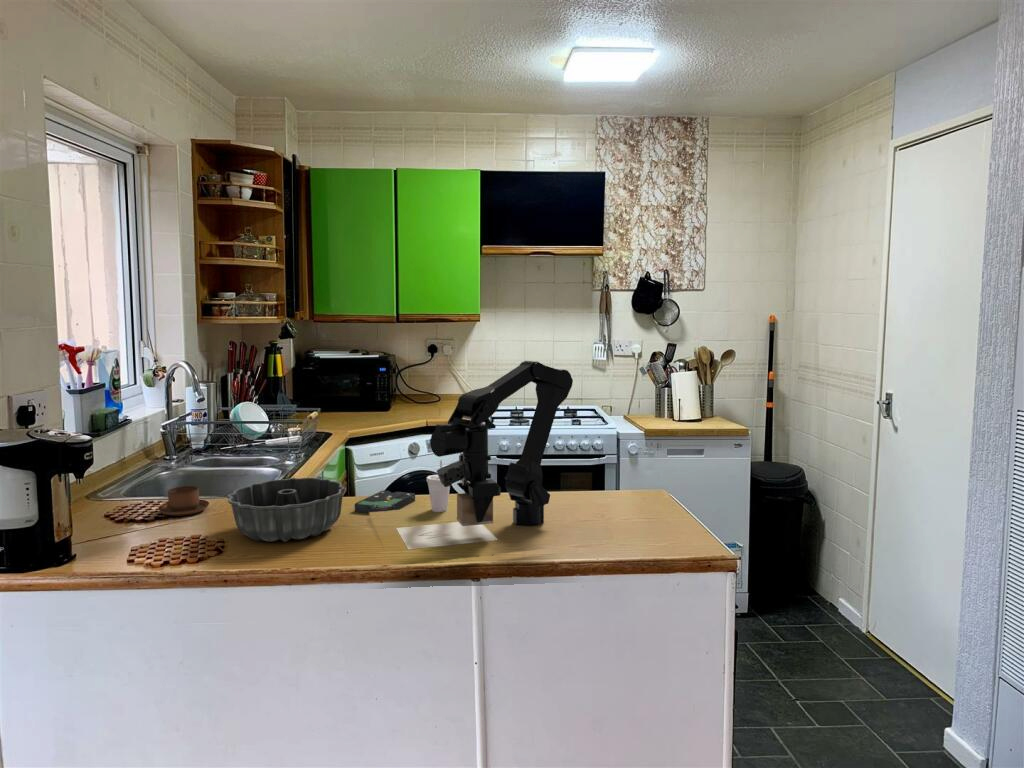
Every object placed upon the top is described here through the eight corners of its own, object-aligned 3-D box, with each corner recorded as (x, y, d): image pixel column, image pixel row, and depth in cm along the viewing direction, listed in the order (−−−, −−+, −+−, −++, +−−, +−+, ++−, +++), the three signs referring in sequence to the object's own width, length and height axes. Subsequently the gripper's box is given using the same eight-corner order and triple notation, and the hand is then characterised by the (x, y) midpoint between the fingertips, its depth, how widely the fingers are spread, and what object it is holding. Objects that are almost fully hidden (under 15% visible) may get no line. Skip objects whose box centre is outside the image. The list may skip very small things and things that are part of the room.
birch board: (478, 524, 180) (478, 519, 179) (497, 544, 164) (497, 539, 164) (396, 533, 173) (396, 528, 173) (408, 554, 158) (408, 549, 158)
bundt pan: (245, 558, 157) (243, 512, 156) (217, 527, 179) (215, 487, 178) (362, 536, 172) (361, 494, 171) (323, 510, 194) (322, 472, 193)
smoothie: (450, 517, 185) (450, 463, 184) (425, 517, 186) (424, 463, 184) (453, 510, 192) (452, 457, 190) (428, 510, 192) (427, 457, 190)
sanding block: (486, 517, 169) (487, 491, 169) (493, 523, 165) (493, 497, 164) (456, 519, 167) (456, 493, 167) (462, 526, 162) (462, 499, 162)
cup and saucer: (148, 517, 189) (146, 493, 188) (182, 504, 200) (181, 482, 199) (186, 521, 185) (185, 497, 184) (219, 508, 196) (218, 485, 196)
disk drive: (382, 500, 205) (354, 513, 191) (382, 490, 205) (353, 502, 191) (415, 502, 202) (389, 516, 188) (415, 492, 202) (389, 506, 188)
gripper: (430, 445, 171) (432, 511, 172) (449, 461, 153) (450, 534, 155) (477, 441, 174) (478, 506, 176) (500, 457, 156) (501, 529, 158)
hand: (476, 518), depth 166 cm, fingers closed on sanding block, 5 cm apart
